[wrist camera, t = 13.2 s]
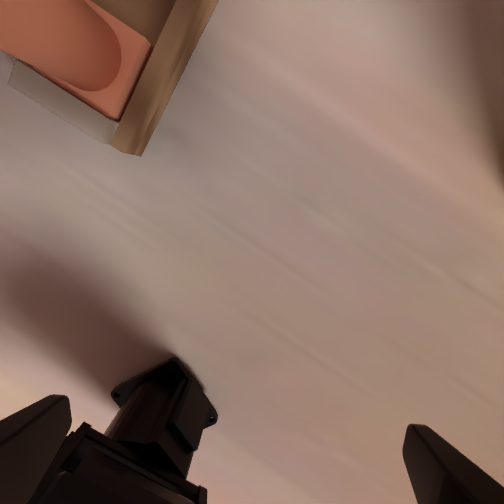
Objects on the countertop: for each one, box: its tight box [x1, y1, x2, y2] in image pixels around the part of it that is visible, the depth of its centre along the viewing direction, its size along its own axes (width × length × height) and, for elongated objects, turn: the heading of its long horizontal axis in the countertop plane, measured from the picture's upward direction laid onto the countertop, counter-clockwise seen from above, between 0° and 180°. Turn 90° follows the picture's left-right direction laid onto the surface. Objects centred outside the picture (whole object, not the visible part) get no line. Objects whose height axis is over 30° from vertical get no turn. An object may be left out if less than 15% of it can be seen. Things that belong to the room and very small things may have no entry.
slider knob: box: [0, 0, 154, 122], centre depth 11 cm, size 4×5×11 cm
